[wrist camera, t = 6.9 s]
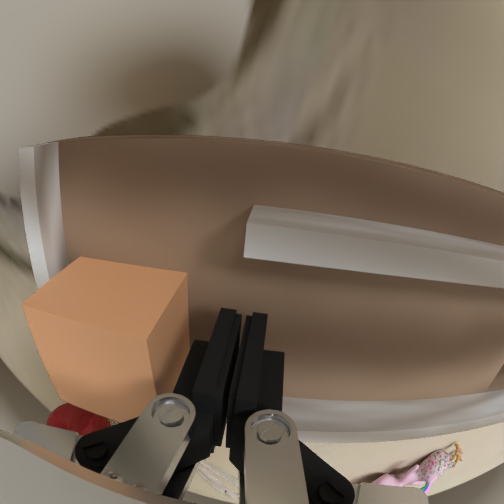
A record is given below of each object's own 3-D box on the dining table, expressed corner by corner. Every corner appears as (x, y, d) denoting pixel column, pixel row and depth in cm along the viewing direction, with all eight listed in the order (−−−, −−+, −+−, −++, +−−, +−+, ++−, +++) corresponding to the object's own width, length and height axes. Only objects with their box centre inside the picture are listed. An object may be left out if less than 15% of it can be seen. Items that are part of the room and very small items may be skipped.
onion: (63, 372, 20) (16, 440, 13) (123, 398, 20) (82, 479, 13) (76, 410, 22) (41, 471, 15) (129, 433, 22) (99, 502, 15)
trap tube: (82, 136, 12) (9, 150, 8) (593, 232, 10) (633, 259, 6) (109, 357, 18) (75, 409, 13) (525, 380, 16) (547, 418, 11)
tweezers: (272, 488, 25) (270, 503, 23) (236, 492, 27) (233, 505, 25) (164, 393, 21) (155, 411, 20) (129, 402, 23) (119, 417, 21)
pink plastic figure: (449, 423, 20) (310, 492, 22) (476, 466, 15) (319, 540, 17) (452, 446, 22) (331, 505, 24) (473, 483, 16) (340, 546, 18)
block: (80, 256, 12) (21, 303, 8) (187, 272, 11) (146, 339, 8) (99, 345, 14) (60, 399, 10) (191, 367, 13) (165, 435, 10)
